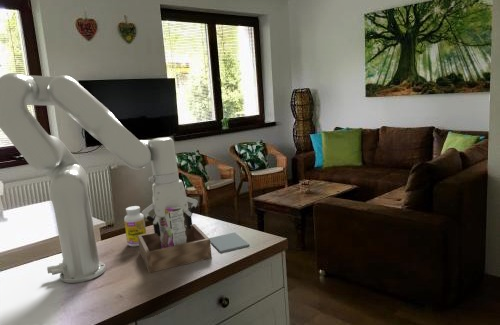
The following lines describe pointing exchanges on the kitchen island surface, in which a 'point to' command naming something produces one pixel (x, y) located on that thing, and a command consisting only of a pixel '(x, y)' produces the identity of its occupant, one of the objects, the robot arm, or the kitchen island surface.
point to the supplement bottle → (134, 225)
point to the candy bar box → (172, 228)
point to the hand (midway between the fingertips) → (174, 231)
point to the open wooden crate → (174, 250)
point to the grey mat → (228, 242)
